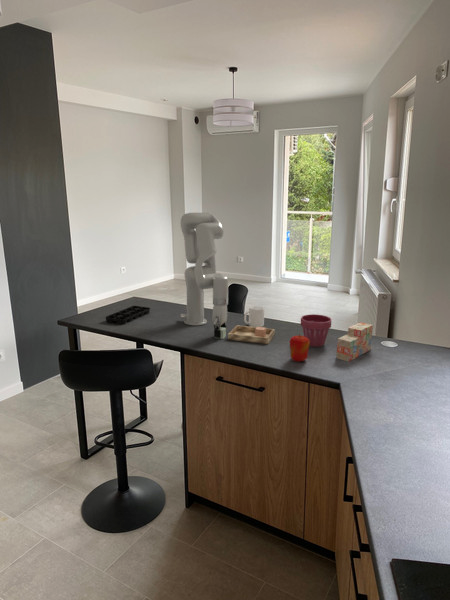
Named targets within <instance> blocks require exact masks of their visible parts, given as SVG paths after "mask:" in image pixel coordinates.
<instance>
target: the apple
mask: <svg viewBox="0 0 450 600" xmlns="http://www.w3.org/2000/svg"><path fill="white" fill-rule="evenodd" d="M309 344H310V341H309V339H308V338H307V337H304V335H301V334H300V333H299V335H294V336H291V338H290V339H289V347H290V349H289V350H290V358H291V359H292V360H293V361H294V362H304V361H305V360H307V359H308V357H309V356H308V355H309V348H310V346H309Z"/></svg>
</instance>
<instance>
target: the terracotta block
mask: <svg viewBox="0 0 450 600" xmlns="http://www.w3.org/2000/svg"><path fill="white" fill-rule="evenodd" d="M266 328H267V327H264V326H263V327H257V328H256V329H255V336H258V337H266Z"/></svg>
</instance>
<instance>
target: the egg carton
mask: <svg viewBox="0 0 450 600" xmlns="http://www.w3.org/2000/svg"><path fill="white" fill-rule="evenodd" d="M150 311H151V307H149V306H148V307H147V306H141V305H140V306H139V305H131V306H130V307H127V308H125V309H121V310H119V311H116V312H114V313H111V314H109V315H107V316H105V320H106V324H116V325H119V326H121V325H126V324H127V323H132V322H133V321H134V320H138V319H139V318H142V317H144V316H145V315H149V314H150Z"/></svg>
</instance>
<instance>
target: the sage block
mask: <svg viewBox="0 0 450 600" xmlns="http://www.w3.org/2000/svg"><path fill="white" fill-rule="evenodd" d="M220 330H221V337H220V338H219V339H221V340H222V339H224V338H226V336H227V327H226V328H223V327H220ZM213 337H214V336H213ZM214 339H216V338H215V337H214Z"/></svg>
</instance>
